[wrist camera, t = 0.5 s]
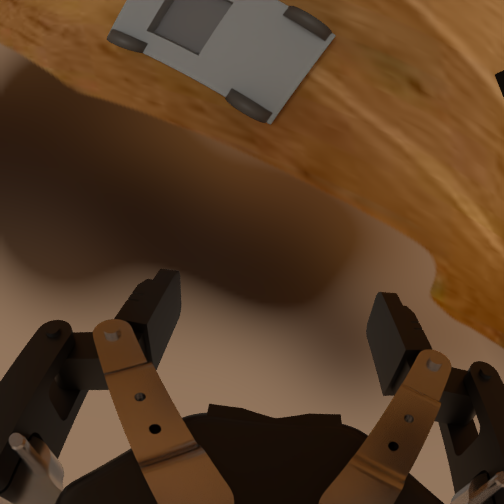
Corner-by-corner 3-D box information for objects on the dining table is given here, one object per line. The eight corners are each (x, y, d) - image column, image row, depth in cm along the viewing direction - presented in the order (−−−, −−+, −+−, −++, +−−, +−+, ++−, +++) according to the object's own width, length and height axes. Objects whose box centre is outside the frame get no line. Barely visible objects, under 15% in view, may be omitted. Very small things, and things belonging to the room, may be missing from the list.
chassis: (118, 37, 30) (95, 36, 26) (167, -44, 24) (149, -55, 20) (272, 121, 34) (268, 128, 30) (333, 38, 28) (338, 32, 24)
